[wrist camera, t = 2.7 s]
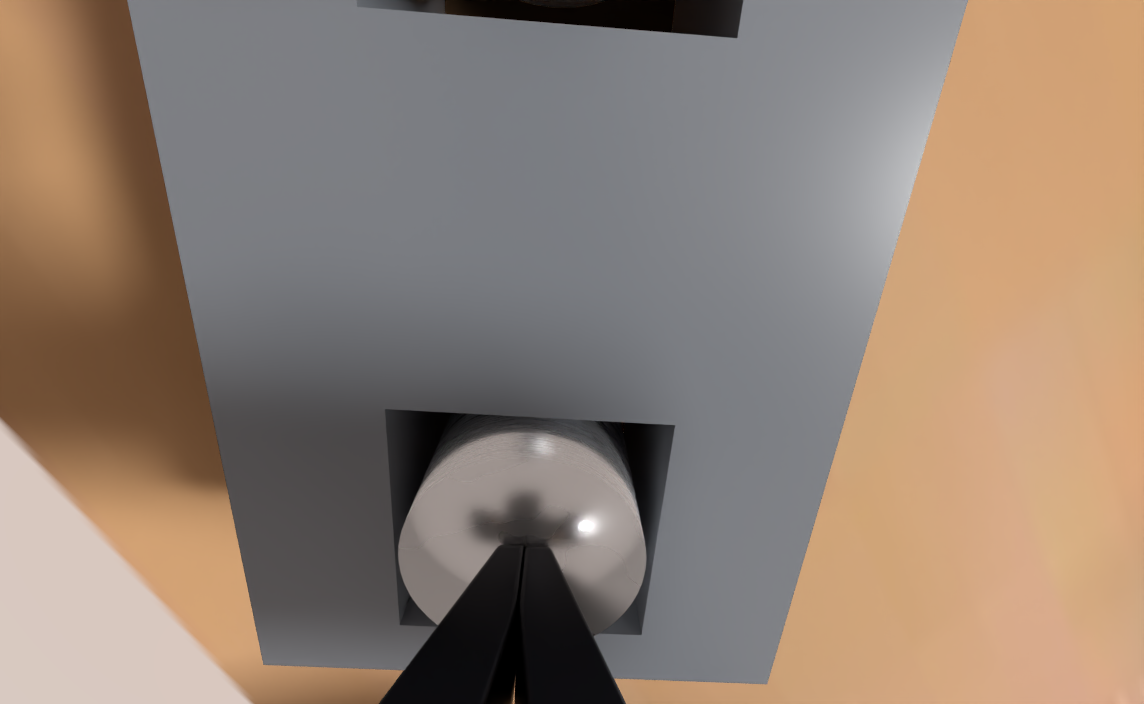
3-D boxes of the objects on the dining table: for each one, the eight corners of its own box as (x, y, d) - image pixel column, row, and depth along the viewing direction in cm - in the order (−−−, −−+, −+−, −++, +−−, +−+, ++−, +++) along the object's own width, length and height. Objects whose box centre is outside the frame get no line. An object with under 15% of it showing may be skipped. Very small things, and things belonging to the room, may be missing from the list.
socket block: (705, 519, 15) (766, 684, 11) (357, 502, 15) (263, 664, 10) (865, -280, 9) (1182, -729, 4) (275, -342, 9) (-58, -900, 4)
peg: (610, 493, 14) (631, 656, 9) (456, 485, 14) (404, 648, 9) (626, 350, 12) (661, 465, 8) (454, 339, 12) (391, 450, 8)
